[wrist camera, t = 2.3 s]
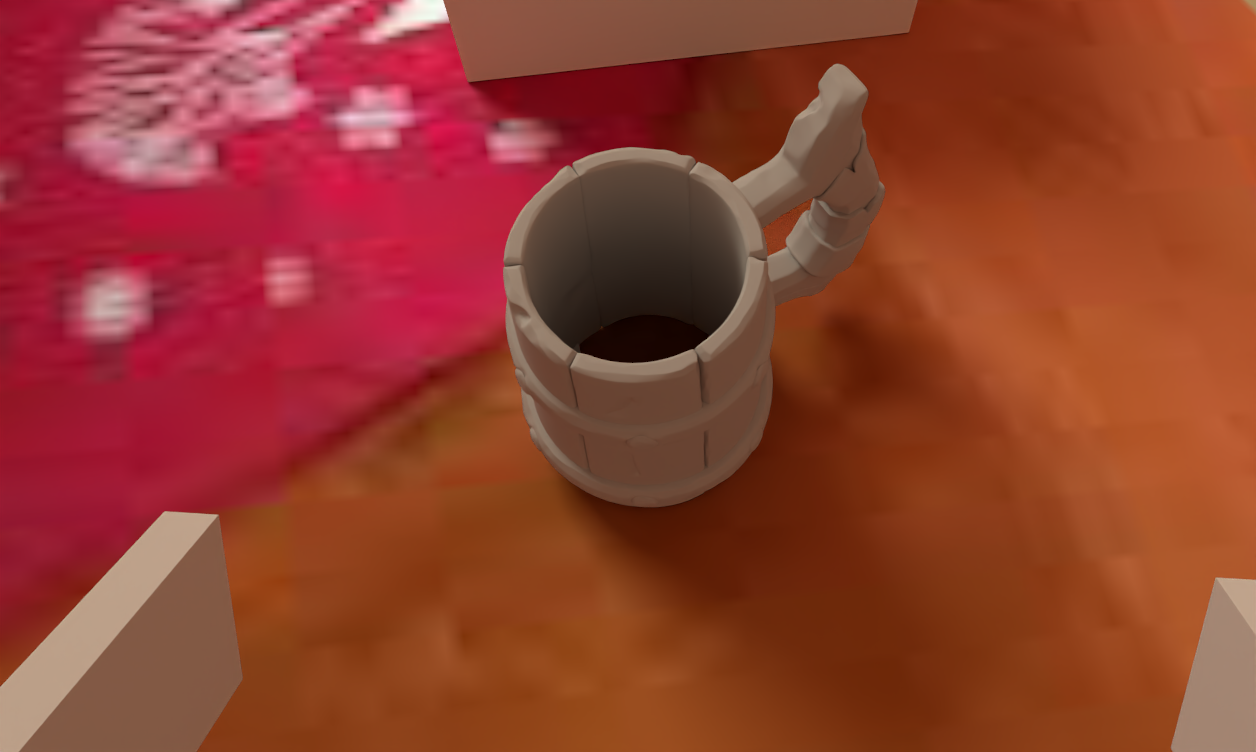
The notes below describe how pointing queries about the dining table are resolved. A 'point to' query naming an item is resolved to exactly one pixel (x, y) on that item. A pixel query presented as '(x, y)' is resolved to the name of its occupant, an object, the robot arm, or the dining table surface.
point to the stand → (650, 30)
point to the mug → (677, 297)
